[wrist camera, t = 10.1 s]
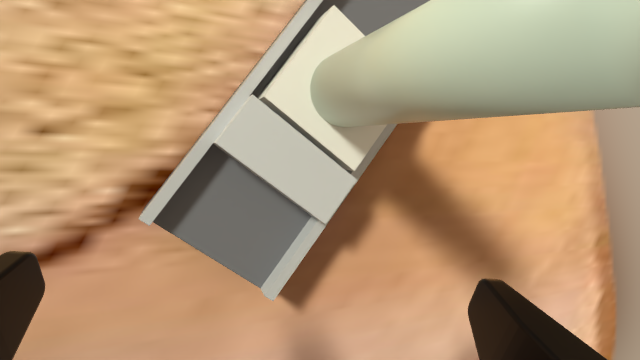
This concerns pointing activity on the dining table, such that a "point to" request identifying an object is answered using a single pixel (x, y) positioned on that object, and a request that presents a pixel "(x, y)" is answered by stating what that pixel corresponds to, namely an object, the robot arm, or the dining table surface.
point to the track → (240, 196)
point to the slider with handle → (456, 68)
